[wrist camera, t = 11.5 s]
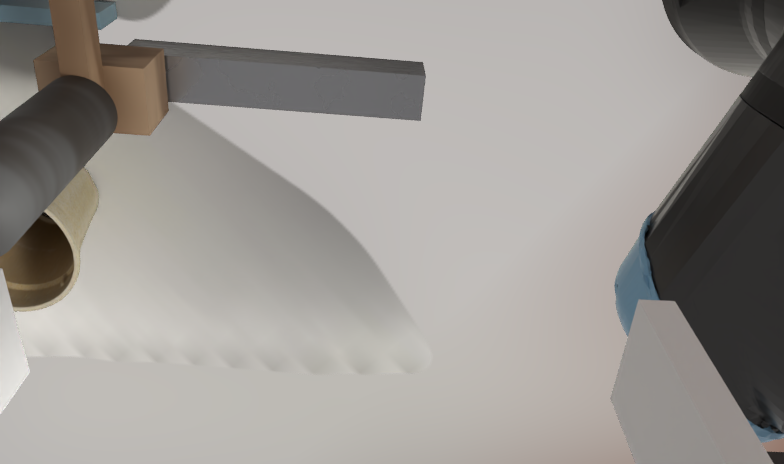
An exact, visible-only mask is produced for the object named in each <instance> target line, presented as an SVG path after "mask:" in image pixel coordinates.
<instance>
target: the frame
mask: <svg viewBox="0 0 784 464" xmlns="http://www.w3.org/2000/svg"><path fill="white" fill-rule="evenodd" d="M94 5H95V12H96V20H97V28H98V30H101V29H103V28H104V27H106V26H107V25H108V24H110V23H111V22H113V21H114V20H116V19H117V13H116V4H115V2H104V1H94ZM0 22H10V23H23V24H35V25H47V26H53V25H52V19H51V13H50V7H49V0H0Z"/></svg>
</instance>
